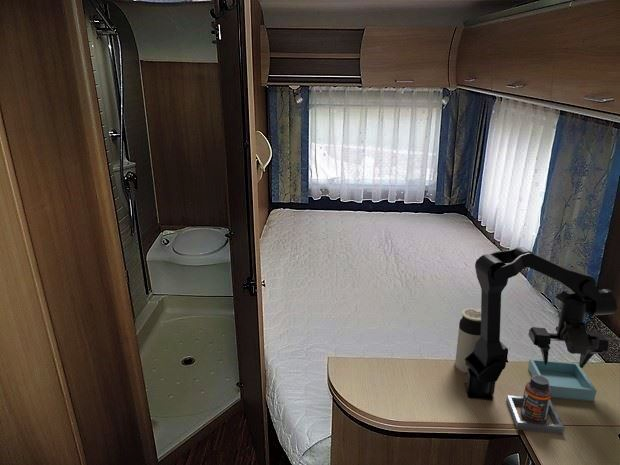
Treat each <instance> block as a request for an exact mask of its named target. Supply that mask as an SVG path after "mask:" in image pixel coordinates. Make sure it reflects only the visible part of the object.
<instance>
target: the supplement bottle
mask: <svg viewBox="0 0 620 465" xmlns="http://www.w3.org/2000/svg"><path fill="white" fill-rule="evenodd" d="M548 386H549V380H548V379H547V378H545V377H543V376H541V375H533V376H531V378H530V381H528V382H526V383H525V386H524V392H523V396H522V397H523V402H522V404H521V408H520V415H521V416H522V418H523V419H524V420H525V421H529V422H538V423H545V422H546V421H547V418H548V413H549V411H548V408H549V403H550V401H551V399H552V398H551V389H550V388H549V387H548Z"/></svg>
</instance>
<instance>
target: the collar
mask: <svg viewBox="0 0 620 465" xmlns="http://www.w3.org/2000/svg"><path fill="white" fill-rule="evenodd" d="M505 401H506V403H507V406H508V410H509V412H510V414H511V417H512V420H513V423H514V426H515V428H516V430H522V431H529V432H538V433H547V434H554V435H555V434H557V435H564V433H565V426H564V424H563V421H562V420H561V418H560V417H559V415H558V412H557V410H556V409H555V406H554V405H553V403H552V401H551V400H550V403H549V408H548V413H549V415H550V417H551V419H552V421H553V423H545V422H544V423H538V422H529V421H527V420H521V418H520V416H519V414H518V410H517V408H516V406H515V404H516V405H517V404H518V405H522V402H523V396H522V395H521V396H520V395H519V396H518V395H509V394H507V395H506V400H505Z"/></svg>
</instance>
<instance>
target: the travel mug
mask: <svg viewBox="0 0 620 465" xmlns="http://www.w3.org/2000/svg"><path fill="white" fill-rule="evenodd" d="M458 323H459V324H458V335H457V342H456V343H457V344H456V352H455V361H454V365H455V367H456V369H457V370H458V371H459V372H462V373H464V374H465V373H467V374H468V368H469V367H468V366H467V365H466V363H465V358H466V357H467V356H469V355H470V354H471V353H472V352H473V351H474V350H475V345H476V342H477V341H478V340H479V338H480V336H481V308H475V307H474V308H473V307H469V308H464V309H463V310H461V319H460V320H459V322H458Z"/></svg>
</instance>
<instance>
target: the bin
mask: <svg viewBox="0 0 620 465" xmlns="http://www.w3.org/2000/svg"><path fill="white" fill-rule="evenodd" d="M527 369H528V371H529V373H530V375H531V377H532V376H533V375H541V376H543V377H545V378H547V379H548V380H549V386H548V387H549V388H550V389H551V398H550V399H561V400H571V401H573V400H574V401H580V402H581V401H583V402H593V403H594V402H595V399H596V394H597V389H596V388H595V387H594V384H592V382H591V380H590V379H589V377H588V376H587V375H586V374H585V372H584V371H583V368H580V366H579V364H578V362H573V361H560V360H559V361H558V360H552V359H551V360H549V359H548V362H547V365H545V364H544V361H543V359H537V358H529V360H528V367H527Z"/></svg>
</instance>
